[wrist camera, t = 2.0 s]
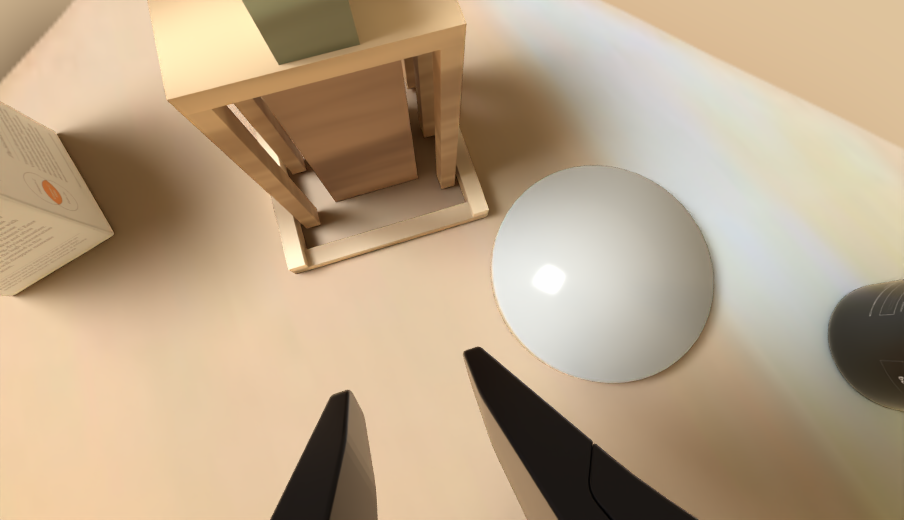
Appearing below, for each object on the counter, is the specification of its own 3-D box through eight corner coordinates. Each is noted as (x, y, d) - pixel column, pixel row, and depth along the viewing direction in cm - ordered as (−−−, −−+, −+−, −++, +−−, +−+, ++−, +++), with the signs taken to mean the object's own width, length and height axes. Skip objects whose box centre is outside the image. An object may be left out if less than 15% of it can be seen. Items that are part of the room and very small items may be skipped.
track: (486, 216, 24) (491, 201, 22) (296, 273, 23) (279, 264, 21) (400, -27, 28) (396, -62, 25) (232, 14, 27) (212, -19, 24)
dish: (601, 430, 21) (610, 435, 20) (446, 265, 23) (446, 261, 22) (742, 278, 23) (758, 274, 22) (589, 136, 25) (597, 126, 24)
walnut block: (417, 178, 24) (398, 41, 14) (335, 202, 24) (249, 80, 13) (394, 106, 25) (359, -73, 15) (315, 128, 25) (219, -42, 14)
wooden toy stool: (454, 185, 24) (475, -105, 9) (306, 228, 23) (48, -8, 8) (415, 72, 26) (376, -339, 10) (276, 109, 25) (13, -277, 10)
